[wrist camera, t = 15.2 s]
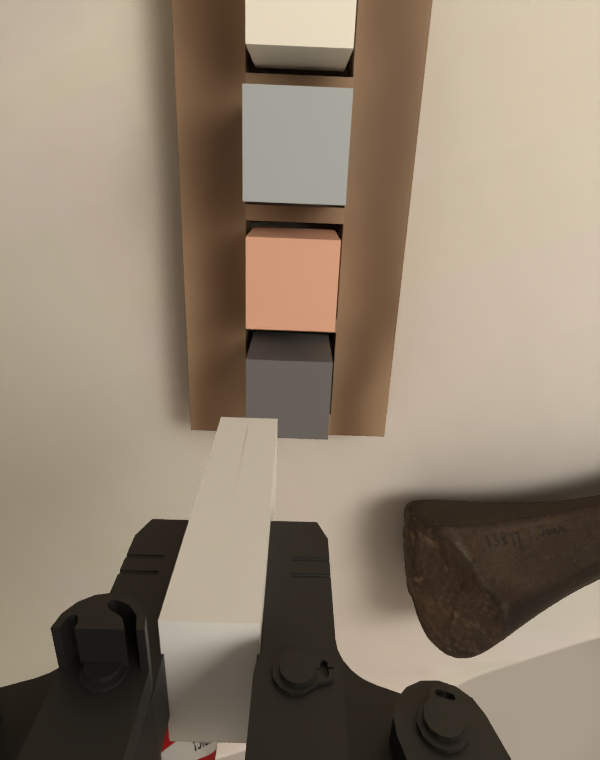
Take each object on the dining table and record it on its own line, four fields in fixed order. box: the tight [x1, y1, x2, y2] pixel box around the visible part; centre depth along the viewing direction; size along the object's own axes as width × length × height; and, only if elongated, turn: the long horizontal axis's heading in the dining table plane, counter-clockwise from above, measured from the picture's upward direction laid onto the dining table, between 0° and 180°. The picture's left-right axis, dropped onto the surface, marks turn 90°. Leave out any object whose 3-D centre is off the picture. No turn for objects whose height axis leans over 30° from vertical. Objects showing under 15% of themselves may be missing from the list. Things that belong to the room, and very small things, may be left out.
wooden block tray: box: [171, 0, 432, 437], centre depth 28 cm, size 12×26×3 cm, turn 178°
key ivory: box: [245, 0, 357, 71], centre depth 22 cm, size 4×4×5 cm
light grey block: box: [242, 84, 353, 205], centre depth 23 cm, size 4×4×5 cm
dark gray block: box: [246, 331, 333, 439], centre depth 29 cm, size 4×4×5 cm
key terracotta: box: [246, 227, 341, 332], centre depth 27 cm, size 4×4×5 cm
